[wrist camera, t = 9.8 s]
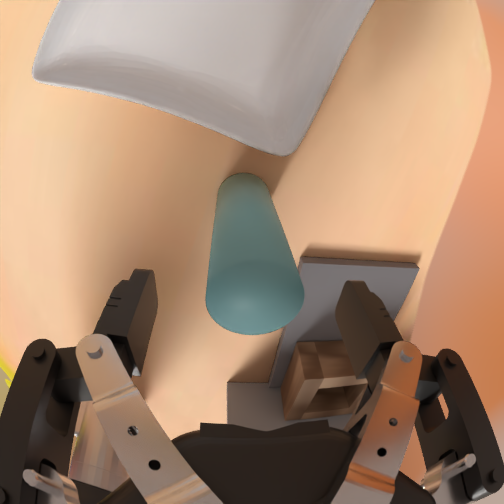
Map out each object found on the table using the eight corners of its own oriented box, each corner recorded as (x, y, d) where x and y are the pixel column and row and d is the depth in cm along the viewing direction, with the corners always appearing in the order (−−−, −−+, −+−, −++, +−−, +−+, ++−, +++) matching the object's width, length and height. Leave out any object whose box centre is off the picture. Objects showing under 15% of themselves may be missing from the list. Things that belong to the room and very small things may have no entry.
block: (280, 388, 34) (284, 420, 30) (296, 341, 29) (304, 379, 25) (348, 383, 35) (356, 412, 31) (375, 338, 30) (390, 370, 26)
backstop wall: (226, 389, 35) (227, 467, 25) (227, 382, 34) (228, 464, 24) (379, 380, 38) (401, 442, 28) (384, 373, 37) (408, 437, 27)
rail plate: (268, 381, 35) (269, 387, 34) (300, 256, 25) (303, 262, 24) (355, 376, 36) (356, 381, 35) (415, 263, 26) (419, 268, 25)
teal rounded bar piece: (216, 220, 22) (206, 333, 12) (218, 171, 20) (205, 257, 10) (266, 222, 23) (294, 334, 12) (272, 174, 21) (313, 261, 10)
